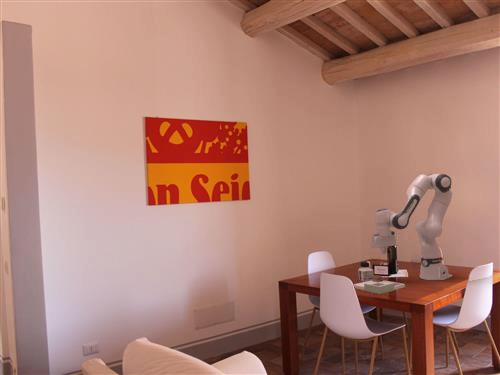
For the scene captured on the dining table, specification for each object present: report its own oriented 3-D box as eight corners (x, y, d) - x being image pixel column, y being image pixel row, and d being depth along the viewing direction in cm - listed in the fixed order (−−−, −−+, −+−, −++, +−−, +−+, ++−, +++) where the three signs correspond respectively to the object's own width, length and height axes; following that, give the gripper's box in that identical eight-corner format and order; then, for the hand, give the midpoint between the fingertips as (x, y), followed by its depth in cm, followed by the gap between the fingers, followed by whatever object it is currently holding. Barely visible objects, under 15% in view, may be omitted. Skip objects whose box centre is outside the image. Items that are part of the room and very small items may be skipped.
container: (363, 281, 313) (362, 262, 314) (358, 279, 321) (357, 261, 321) (374, 280, 315) (372, 261, 315) (369, 278, 323) (367, 260, 323)
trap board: (377, 282, 310) (376, 275, 310) (406, 287, 290) (406, 280, 290) (351, 288, 297) (350, 281, 297) (380, 294, 277) (379, 286, 277)
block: (377, 280, 307) (377, 275, 307) (383, 281, 303) (382, 276, 303) (372, 281, 305) (371, 276, 305) (377, 282, 301) (377, 277, 301)
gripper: (375, 234, 300) (376, 255, 300) (396, 231, 311) (397, 252, 311) (368, 234, 305) (369, 254, 305) (389, 231, 316) (390, 251, 316)
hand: (384, 253), depth 308 cm, fingers closed
